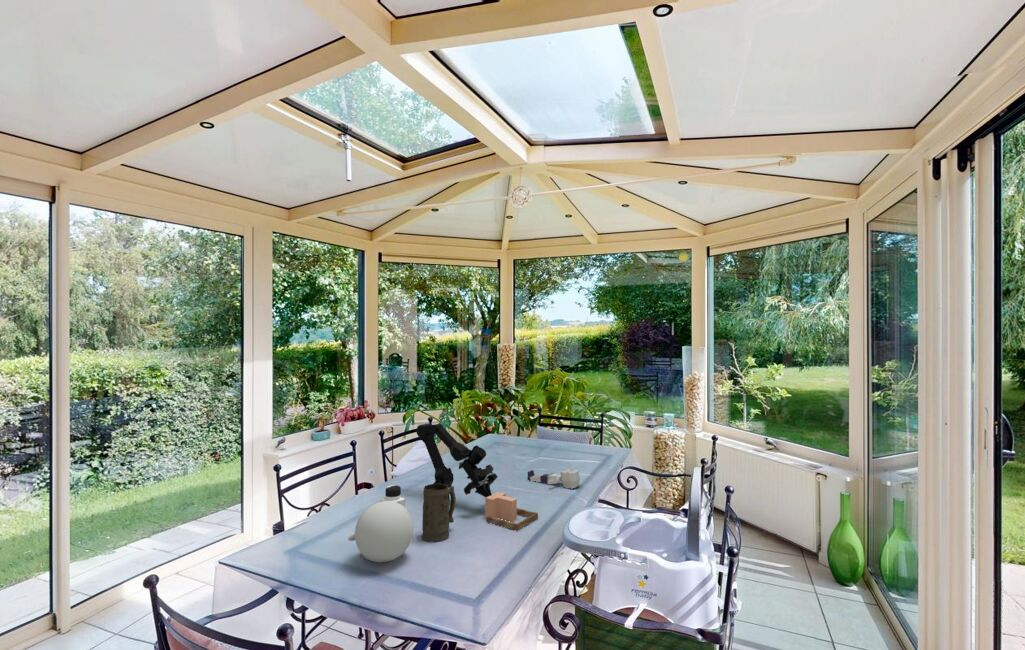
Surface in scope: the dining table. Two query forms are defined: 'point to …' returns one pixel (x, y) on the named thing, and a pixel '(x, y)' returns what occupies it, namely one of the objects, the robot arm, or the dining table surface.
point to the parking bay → (531, 518)
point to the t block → (501, 507)
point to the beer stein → (437, 511)
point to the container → (394, 495)
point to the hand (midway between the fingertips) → (491, 499)
